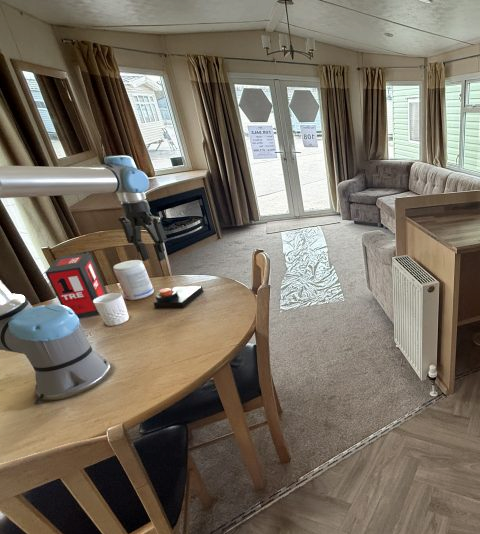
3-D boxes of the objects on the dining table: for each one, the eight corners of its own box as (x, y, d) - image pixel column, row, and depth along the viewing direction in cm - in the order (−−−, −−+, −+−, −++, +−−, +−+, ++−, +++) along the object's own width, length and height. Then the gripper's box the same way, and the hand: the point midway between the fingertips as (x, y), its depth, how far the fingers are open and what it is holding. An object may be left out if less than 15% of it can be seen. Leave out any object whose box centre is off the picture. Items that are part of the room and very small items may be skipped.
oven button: (168, 297, 136) (166, 292, 136) (158, 297, 136) (156, 292, 135) (174, 292, 140) (173, 287, 139) (164, 292, 140) (163, 288, 139)
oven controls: (183, 308, 137) (180, 298, 135) (154, 308, 136) (150, 298, 134) (203, 291, 149) (200, 282, 147) (176, 291, 149) (173, 282, 147)
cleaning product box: (100, 314, 131) (79, 267, 123) (69, 320, 127) (45, 272, 118) (108, 296, 144) (90, 252, 135) (80, 301, 139) (59, 256, 131)
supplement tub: (158, 289, 150) (147, 258, 144) (147, 299, 142) (135, 267, 136) (133, 291, 148) (121, 260, 142) (120, 301, 140) (106, 269, 134)
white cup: (136, 316, 130) (127, 293, 126) (117, 327, 123) (106, 304, 119) (118, 314, 131) (108, 292, 127) (97, 326, 124) (86, 302, 120)
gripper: (167, 198, 126) (184, 255, 136) (115, 198, 125) (136, 255, 134) (152, 203, 119) (172, 263, 129) (97, 202, 118) (121, 263, 128)
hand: (154, 259), depth 132 cm, fingers open, 5 cm apart
